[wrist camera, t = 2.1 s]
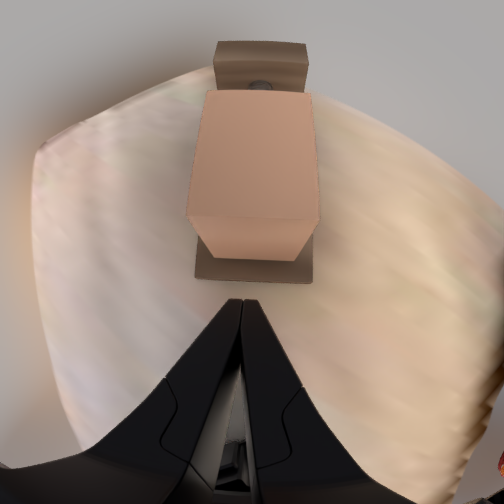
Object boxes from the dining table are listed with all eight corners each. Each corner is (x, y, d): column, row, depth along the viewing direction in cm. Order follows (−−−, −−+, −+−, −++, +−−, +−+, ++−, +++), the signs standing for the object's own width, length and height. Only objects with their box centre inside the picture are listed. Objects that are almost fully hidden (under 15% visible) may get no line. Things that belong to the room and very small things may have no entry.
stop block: (310, 283, 22) (343, 261, 13) (197, 279, 22) (160, 253, 13) (304, 111, 26) (317, 45, 17) (217, 109, 26) (205, 42, 17)
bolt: (271, 154, 19) (273, 138, 17) (243, 153, 19) (242, 136, 17) (272, 94, 21) (273, 78, 19) (248, 94, 21) (248, 77, 19)
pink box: (294, 261, 21) (320, 220, 12) (214, 257, 21) (185, 215, 12) (293, 168, 23) (310, 93, 14) (222, 165, 23) (207, 90, 14)
